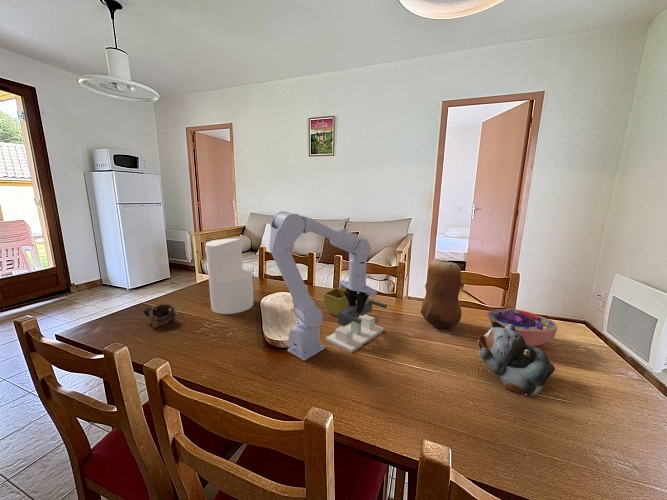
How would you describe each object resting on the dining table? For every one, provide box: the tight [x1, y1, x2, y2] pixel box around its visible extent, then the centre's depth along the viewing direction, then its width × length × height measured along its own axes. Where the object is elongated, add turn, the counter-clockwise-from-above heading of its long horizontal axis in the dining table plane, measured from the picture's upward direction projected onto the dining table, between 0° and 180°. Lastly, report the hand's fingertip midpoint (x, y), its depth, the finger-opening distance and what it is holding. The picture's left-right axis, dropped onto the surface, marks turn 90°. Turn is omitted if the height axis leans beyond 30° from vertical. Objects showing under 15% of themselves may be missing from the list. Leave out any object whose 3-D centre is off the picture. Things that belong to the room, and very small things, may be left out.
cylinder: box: [205, 238, 255, 315], centre depth 118 cm, size 17×17×28 cm
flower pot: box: [323, 287, 350, 317], centre depth 113 cm, size 9×9×9 cm
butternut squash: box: [420, 259, 462, 329], centre depth 102 cm, size 14×13×25 cm
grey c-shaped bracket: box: [337, 298, 388, 327], centre depth 93 cm, size 16×8×4 cm, turn 138°
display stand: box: [325, 314, 385, 354], centre depth 97 cm, size 19×11×6 cm, turn 138°
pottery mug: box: [143, 303, 177, 329], centre depth 105 cm, size 12×10×8 cm
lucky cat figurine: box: [477, 321, 556, 397], centre depth 76 cm, size 17×14×16 cm
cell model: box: [486, 308, 559, 347], centre depth 93 cm, size 17×20×11 cm
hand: (356, 311), depth 95 cm, fingers closed on grey c-shaped bracket, 2 cm apart
